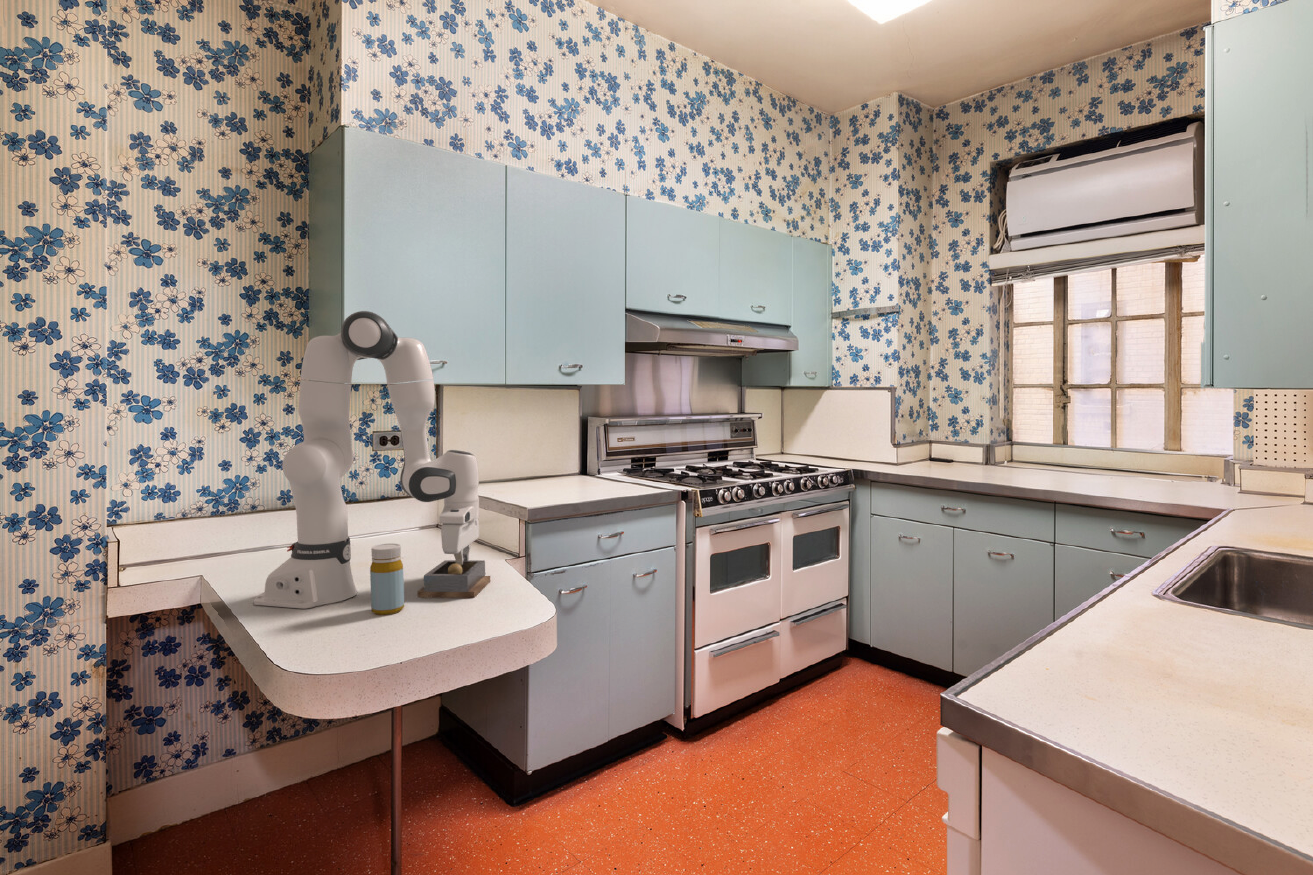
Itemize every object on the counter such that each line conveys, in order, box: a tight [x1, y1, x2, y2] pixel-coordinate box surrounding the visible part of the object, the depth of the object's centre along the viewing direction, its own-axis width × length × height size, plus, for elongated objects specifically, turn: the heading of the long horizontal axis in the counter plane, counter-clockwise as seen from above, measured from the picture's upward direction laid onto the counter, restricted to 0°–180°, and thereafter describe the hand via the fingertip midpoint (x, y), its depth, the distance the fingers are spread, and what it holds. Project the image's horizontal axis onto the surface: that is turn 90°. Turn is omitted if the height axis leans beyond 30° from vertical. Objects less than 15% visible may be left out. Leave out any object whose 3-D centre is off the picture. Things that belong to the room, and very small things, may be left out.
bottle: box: [369, 543, 405, 616], centre depth 150 cm, size 7×7×15 cm
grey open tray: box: [423, 559, 486, 592], centre depth 168 cm, size 11×15×4 cm
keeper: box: [417, 563, 491, 599], centre depth 167 cm, size 14×14×7 cm
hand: (462, 562), depth 174 cm, fingers open, 3 cm apart
